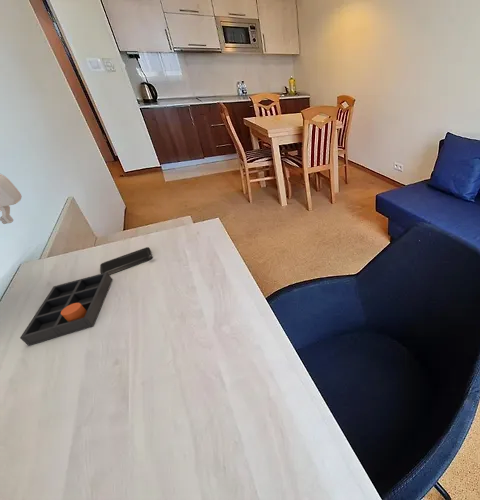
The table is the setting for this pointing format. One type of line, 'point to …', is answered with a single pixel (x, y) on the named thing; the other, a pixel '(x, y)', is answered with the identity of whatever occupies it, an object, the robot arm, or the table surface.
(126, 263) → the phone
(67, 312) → the orange cylinder
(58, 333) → the grid
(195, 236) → the table surface
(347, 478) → the table surface
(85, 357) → the table surface
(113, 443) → the table surface
